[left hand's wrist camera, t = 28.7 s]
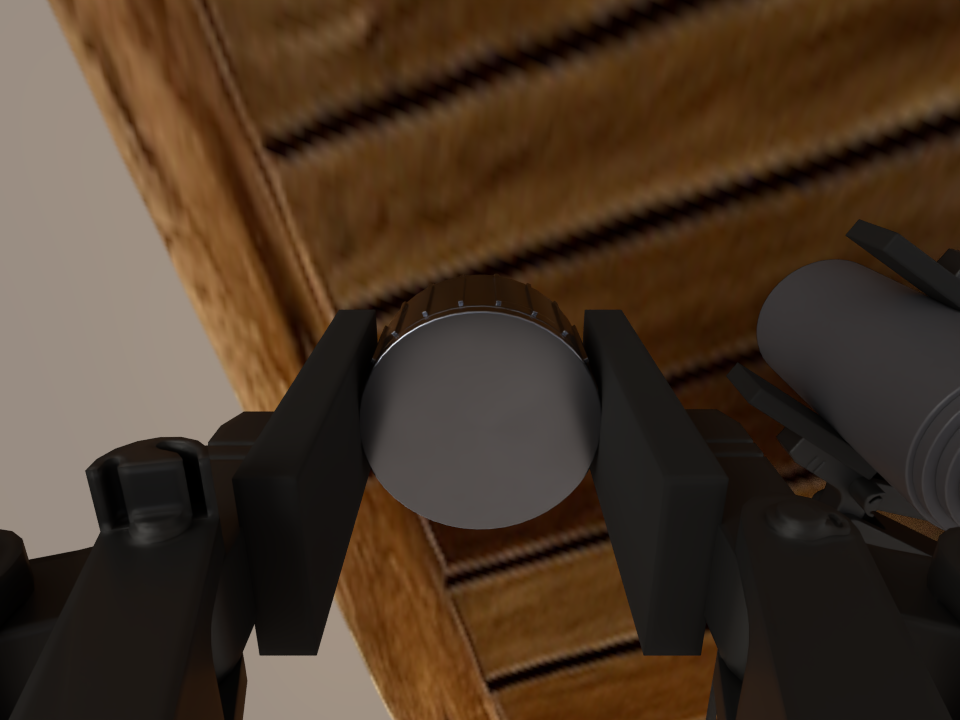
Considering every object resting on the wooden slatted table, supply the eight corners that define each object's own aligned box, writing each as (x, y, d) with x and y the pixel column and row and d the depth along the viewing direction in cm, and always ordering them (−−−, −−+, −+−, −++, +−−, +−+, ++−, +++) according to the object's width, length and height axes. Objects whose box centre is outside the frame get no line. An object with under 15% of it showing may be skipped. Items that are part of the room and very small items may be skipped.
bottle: (813, 405, 35) (1115, 698, 18) (729, 330, 34) (974, 575, 17) (915, 315, 33) (1357, 549, 17) (831, 231, 32) (1223, 395, 15)
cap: (565, 248, 13) (583, 281, 11) (601, 444, 15) (623, 507, 13) (348, 298, 14) (322, 339, 11) (407, 482, 15) (394, 551, 13)
